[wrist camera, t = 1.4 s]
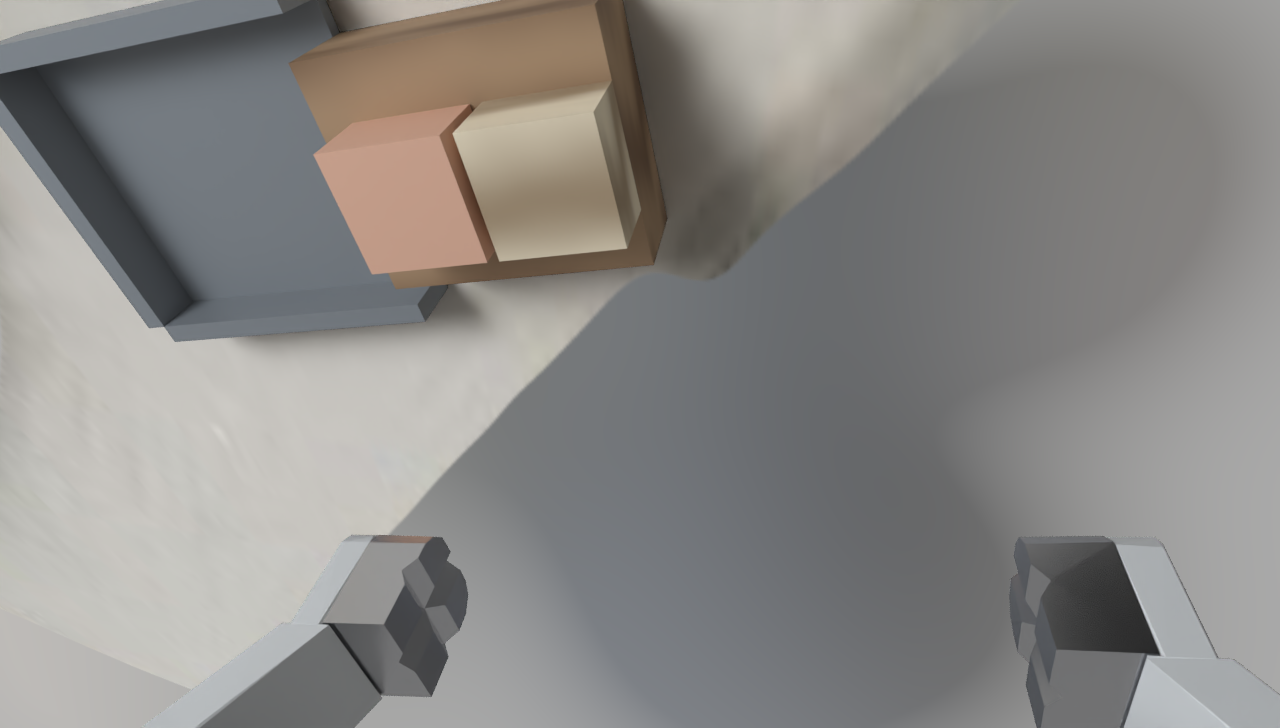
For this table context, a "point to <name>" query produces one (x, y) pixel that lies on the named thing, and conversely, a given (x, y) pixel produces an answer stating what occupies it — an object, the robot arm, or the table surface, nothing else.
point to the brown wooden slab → (491, 96)
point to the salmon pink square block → (407, 191)
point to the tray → (197, 166)
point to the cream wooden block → (551, 172)
